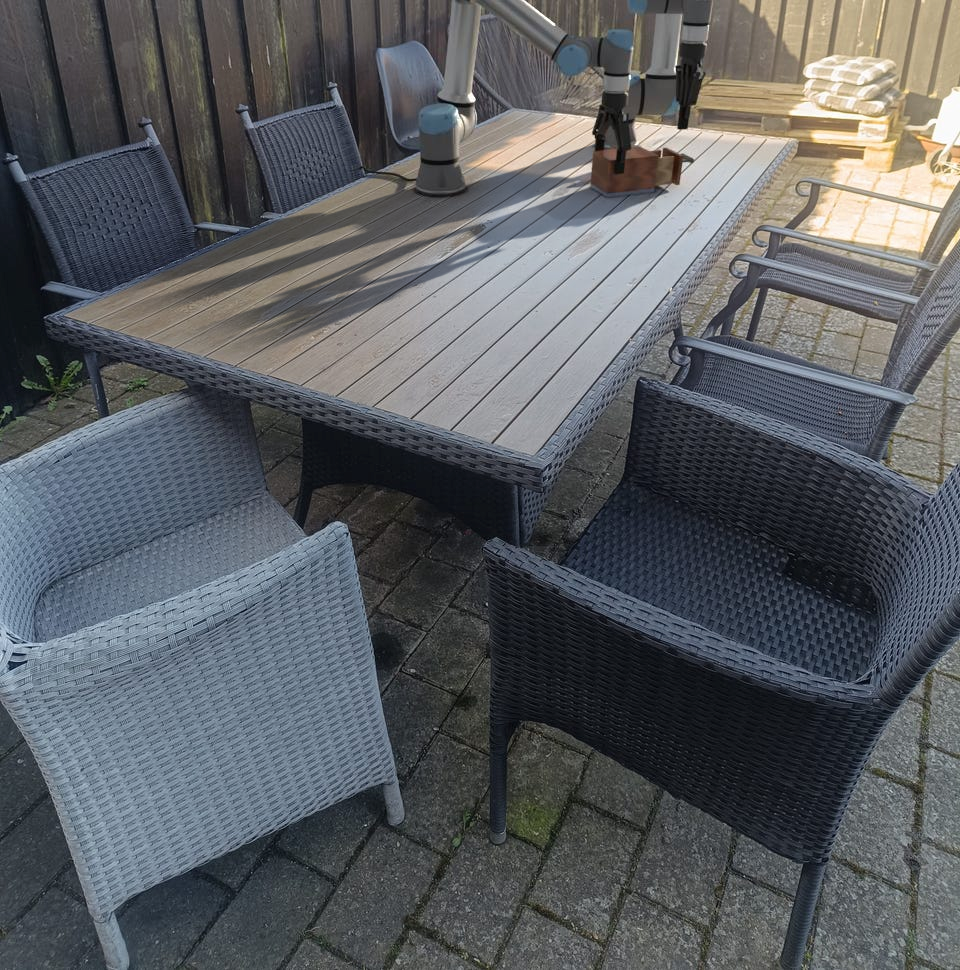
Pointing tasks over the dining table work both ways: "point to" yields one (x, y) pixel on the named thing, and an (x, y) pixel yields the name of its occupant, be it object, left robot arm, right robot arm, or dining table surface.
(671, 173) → the drawer
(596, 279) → the dining table surface
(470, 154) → the dining table surface
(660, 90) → the right robot arm
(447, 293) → the dining table surface
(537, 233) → the dining table surface
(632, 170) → the cabinet
